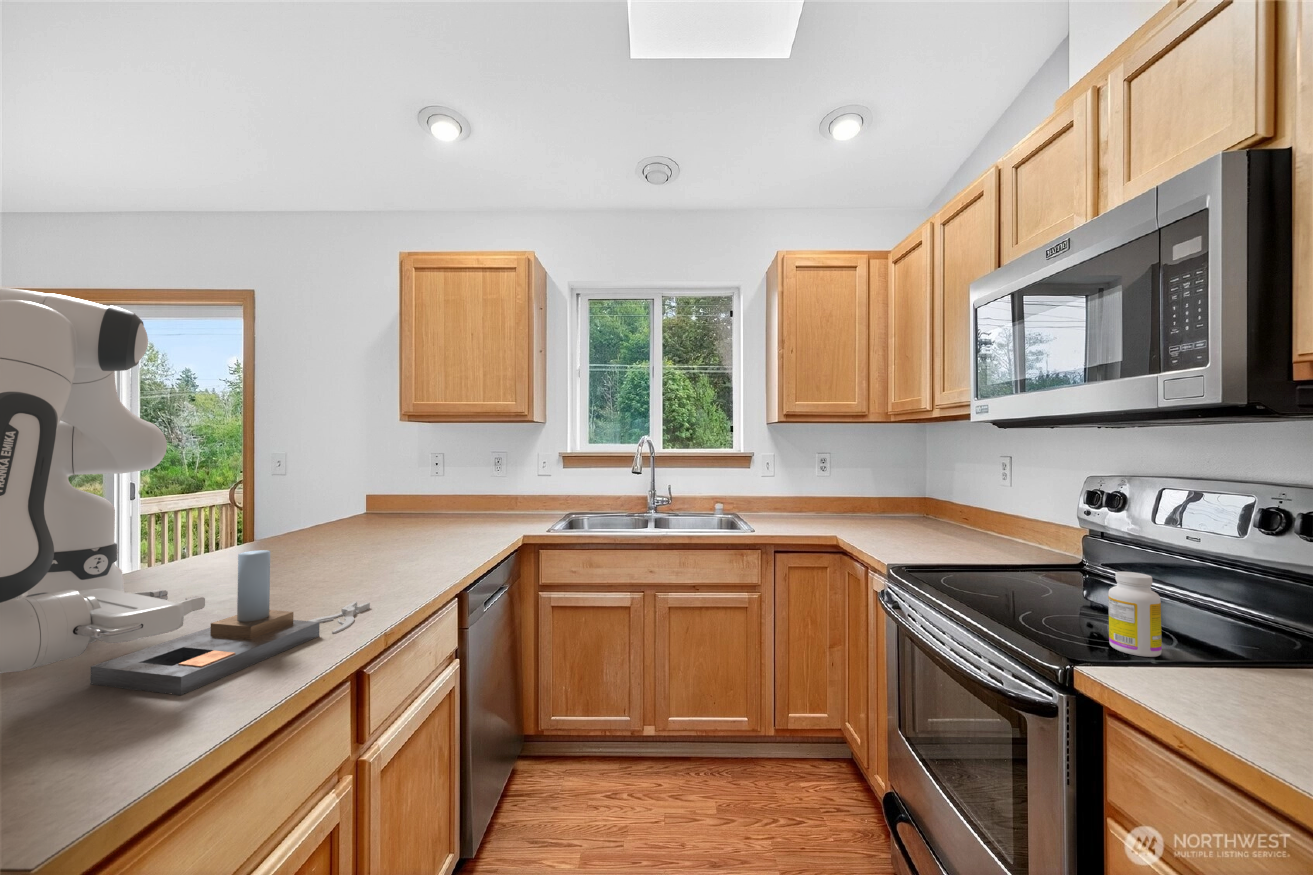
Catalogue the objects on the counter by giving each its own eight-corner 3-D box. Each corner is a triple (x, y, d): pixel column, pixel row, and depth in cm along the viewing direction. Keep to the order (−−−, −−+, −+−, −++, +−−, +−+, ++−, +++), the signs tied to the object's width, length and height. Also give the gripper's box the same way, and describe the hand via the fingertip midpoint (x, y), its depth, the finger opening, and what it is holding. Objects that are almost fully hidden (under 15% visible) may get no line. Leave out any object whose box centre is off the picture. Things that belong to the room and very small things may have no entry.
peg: (230, 620, 90) (231, 554, 90) (254, 612, 94) (255, 549, 94) (252, 622, 89) (253, 556, 89) (275, 614, 93) (276, 550, 93)
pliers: (284, 625, 97) (340, 601, 112) (284, 633, 97) (340, 608, 112) (335, 626, 96) (384, 602, 111) (335, 635, 96) (384, 610, 111)
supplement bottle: (1151, 647, 92) (1151, 572, 92) (1169, 661, 86) (1168, 581, 86) (1103, 641, 95) (1102, 568, 95) (1116, 654, 89) (1115, 576, 89)
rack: (90, 684, 76) (90, 652, 76) (245, 629, 98) (245, 604, 98) (180, 695, 73) (181, 661, 73) (319, 636, 95) (319, 610, 95)
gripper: (100, 612, 65) (226, 584, 78) (18, 593, 73) (145, 571, 86) (99, 663, 65) (225, 628, 78) (17, 639, 73) (145, 610, 86)
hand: (183, 598), depth 82 cm, fingers open, 8 cm apart
